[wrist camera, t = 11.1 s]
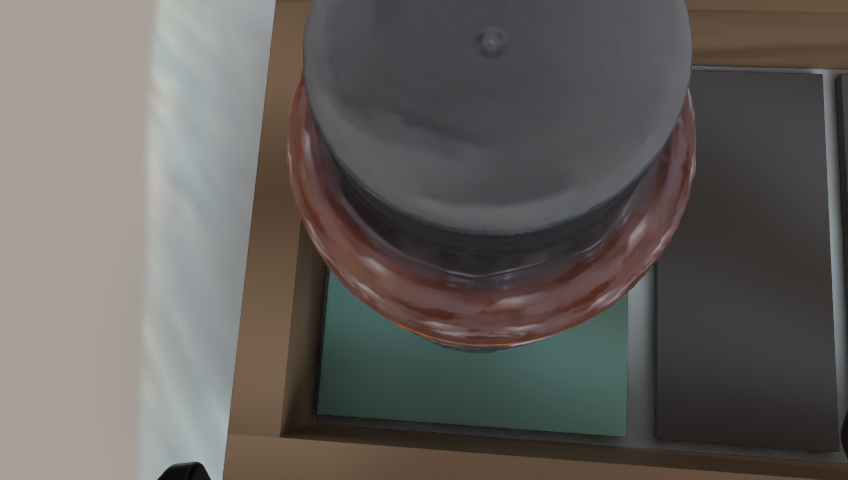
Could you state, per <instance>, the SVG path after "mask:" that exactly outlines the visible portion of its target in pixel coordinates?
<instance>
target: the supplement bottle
mask: <svg viewBox="0 0 848 480" xmlns="http://www.w3.org/2000/svg"><path fill="white" fill-rule="evenodd" d="M692 56H693V50H692V35H691V29H690V23H689V15H688V11H687V6H686V1H685V0H312V4H311V8H310V12H309V15H308V18H307V21H306V24H305V29H304V35H303V69H302V71H301V73H300V76H299V78H298V81H297V84H296V87H295V90H294V93H293V97H292V101H291V106H290V111H289V117H288V124H287V139H286V157H287V166H288V176H289V183H290V187H291V190H292V194H293V199H294V202H295V205H296V208H297V210H298V213H299V215H300V218H301V220H302V222H303V225H304V227H305V229H306V231H307V233H308V235H309V237H310V239H311V240H312V242H313V244H314V246H315V248H316V250H317V251H318V252H319V254H320V255H321V257H322V258H323V260H324V261H325V263H326V265H327V266H328V267H329V268H330V270H331V271H332V272H333V274H334V275H335V276H336V277H337V279H338V280H339V281H340V282H341V283H342V284H343V285H344V286H345V287H346V288H347V289H348V290H349V291H350V292H351V293H352V294H353V295H354V296H355V297H357V298H358V299H359V300H361V301H362V302H363V303H364V304H366V305H367V306H369V307H370V308H372V309H373V310H375V311H376V312H378V313H379V314H380V315H381V316H383V317H385V318H386V319H388V320H390V321H392V322H393V323H395V324H397V325H398V326H400V327H402V328H404V329H406V330H408V331H410V332H412V333H414V334H416V335H417V336H419V337H422V338H423V339H425V340H427V341H429V342H432V343H434V344H437V345H439V346H442V347H444V348H448V349H453V350H456V351H461V352H467V353H494V352H500V351H505V350H509V349H513V348H517V347H520V346H523V345H527V344H529V343H533V342H536V341H539V340H541V339H544V338H547V337H549V336H552V335H555V334H558V333H561V332H563V331H566V330H568V329H571V328H573V327H576V326H578V325H580V324H581V323H583V322H585V321H587V320H589V319H591V318H593V317H595V316H596V315H598V314H600V313H601V312H603V311H605V310H606V309H608V308H610V307H611V306H613V305H614V304H615V303H616V302H617V301H618V300H619V299H621V298H622V297H623V296H624V295H625V294H626V293H627V292H628V291H630V290H631V289H632V288H633V287H634V286H635V285H636V283H637V282H638V281H639V280H640V279H641V278H642V277H643V276H644V275H645V274H646V273H647V272H648V271H649V270H650V268H651V267H652V265H653V264H654V263H655V262H656V261H657V260H658V259H659V258H660V257H661V255H662V254H663V253H664V251H665V249H666V247H667V245H668V244H669V242H670V241H671V239H672V236H673V234H674V232H675V231H676V230H677V228H678V227H679V223H680V220H681V217H682V215H683V213H684V211H685V207H686V204H687V202H688V200H689V198H690V196H691V189H692V186H693V179H694V177H695V175H696V124H695V112H694V107H693V102H692V97H691V93H690V90H689V85H690V77H691V68H692Z"/></svg>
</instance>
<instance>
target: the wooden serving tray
mask: <svg viewBox="0 0 848 480" xmlns="http://www.w3.org/2000/svg"><path fill="white" fill-rule="evenodd" d="M685 1H686V6H687V11H688V15H689V23H690V29H691V35H692V50H693V56H692V65H694V66H733V67H773V68H812V69H848V0H685ZM311 4H312V0H276V5H275V14H274V23H273V32H272V41H271V49H270V58H269V67H268V76H267V85H266V94H265V103H264V112H263V121H262V130H261V139H260V148H259V157H258V166H257V175H256V184H255V193H254V202H253V211H252V220H251V229H250V238H249V247H248V256H247V265H246V274H245V283H244V292H243V300H242V309H241V318H240V327H239V336H238V345H237V354H236V363H235V372H234V381H233V390H232V399H231V408H230V417H229V426H228V435H227V444H226V453H225V462H224V471H223V480H848V464H841V463H828V462H815V461H802V460H788V459H775V458H762V457H748V456H735V455H722V454H708V453H695V452H682V451H669V450H655V449H642V448H629V447H615V446H602V445H589V444H576V443H562V442H549V441H536V440H522V439H509V438H496V437H483V436H469V435H456V434H443V433H429V432H416V431H403V430H390V429H376V428H363V427H350V426H336V425H323V424H312V423H313V411H314V400H315V389H316V378H317V367H318V356H319V345H320V334H321V323H322V312H323V300H324V289H325V278H326V267H327V265H326V263H325V261H324V260H323V258H322V257H321V255H320V254H319V252H318V251H317V250H316V248H315V246H314V244H313V242H312V240H311V239H310V237H309V235H308V233H307V231H306V229H305V227H304V225H303V222H302V220H301V218H300V215H299V213H298V210H297V208H296V205H295V202H294V199H293V194H292V190H291V187H290V183H289V176H288V166H287V157H286V139H287V124H288V117H289V111H290V106H291V101H292V97H293V93H294V90H295V87H296V84H297V81H298V78H299V76H300V73H301V71H302V69H303V35H304V29H305V24H306V21H307V18H308V15H309V12H310V8H311ZM689 90H690V93H691V97H692V102H693V107H694V112H695V124H696V175H695V177H694V179H693V186H692V189H691V196H690V198H689V200H688V202H687V204H686V207H685V211H684V213H683V215H682V217H681V220H680V223H679V227H678V228H677V230H676V231H675V232H674V234H673V236H672V239H671V241H670V242H669V244H668V245H667V247H666V249H665V251H664V253H663V254H662V255H661V257H660V258H659V259H658V260H657V261H656V262H655V389H654V437H655V438H657V439H666V440H680V441H693V442H707V443H720V444H734V445H747V446H761V447H774V448H788V449H802V450H815V451H829V452H839V432H838V409H837V387H836V365H835V342H834V320H833V298H832V275H831V253H830V231H829V209H828V186H827V164H826V142H825V119H824V97H823V75H822V74H800V73H762V72H723V71H691V77H690V85H689ZM836 99H837V119H838V140H839V161H840V181H841V202H842V223H843V243H844V264H845V285H846V305H847V326H848V75H840V76H839V77H838V78H836ZM627 321H628V292H627V293H626V294H625V295H624V296H623V297H622V298H621V299H619V300H618V301H617V302H616V303H615V304H614V305H613V306H611V307H610V308H608V309H606V310H605V311H603V312H601V313H600V314H598V315H596V316H595V317H593V318H591V319H589V320H587V321H585V322H583V323H581V324H580V325H578V326H576V327H573V328H571V329H568V330H566V331H563V332H561V333H558V334H555V335H552V336H549V337H547V338H544V339H541V340H539V341H536V342H533V343H529V344H527V345H523V346H520V347H517V348H513V349H509V350H505V351H500V352H494V353H467V352H461V351H456V350H453V349H448V348H444V347H442V346H439V345H437V344H434V343H432V342H429V341H427V340H425V339H423V338H422V337H419V336H417V335H416V334H414V333H412V332H410V331H408V330H406V329H404V328H402V327H400V326H398V325H397V324H395V323H393V322H392V321H390V320H388V319H386V318H385V317H383V316H381V315H380V314H379V313H378V312H376V311H375V310H373V309H372V308H370V307H369V306H367V305H366V304H364V303H363V302H362V301H361V300H359V299H358V298H357V297H355V296H354V295H353V294H352V293H351V292H350V291H349V290H348V289H347V288H346V287H345V286H344V285H343V284H342V283H341V282H340V281H339V280H338V279H337V277H336V276H335V275H334V274H333V272H332V271H331V270H330V275H329V287H328V298H327V309H326V320H325V332H324V343H323V354H322V365H321V376H320V388H319V399H318V410H317V414H322V415H336V416H349V417H363V418H376V419H390V420H403V421H417V422H430V423H444V424H457V425H471V426H484V427H498V428H512V429H525V430H539V431H552V432H566V433H579V434H593V435H606V436H620V437H626V426H627Z"/></svg>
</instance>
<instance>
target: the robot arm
mask: <svg viewBox="0 0 848 480" xmlns="http://www.w3.org/2000/svg"><path fill="white" fill-rule="evenodd" d="M841 442H842V446H843V449H844V451H845V453H846V456H847V458H848V410H847V413H846V416H845V419H844V422H843V425H842V427H841ZM158 480H211V479H210V477H209V475H208V473H207V471H206V469H205V468H204V466H203V465H202V464H201V463H199V462H189V463H179V464H174V465H172V466H170V467H169V468H167V469H166V470H165V472H164V473H163V474H162V475H161V476H160V477H159V479H158Z"/></svg>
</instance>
